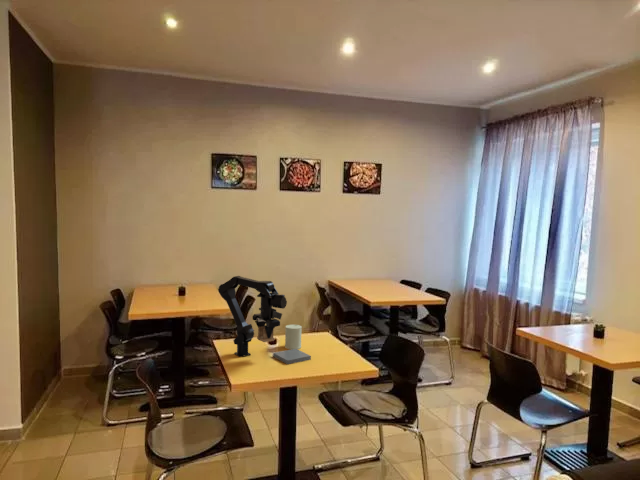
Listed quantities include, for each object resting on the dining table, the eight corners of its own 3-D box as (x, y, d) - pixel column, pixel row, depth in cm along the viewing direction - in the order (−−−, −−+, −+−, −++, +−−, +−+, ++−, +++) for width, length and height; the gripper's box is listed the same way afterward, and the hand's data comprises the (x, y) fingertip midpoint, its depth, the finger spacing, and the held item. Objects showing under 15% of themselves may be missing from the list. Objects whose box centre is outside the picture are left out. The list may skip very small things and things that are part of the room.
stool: (257, 338, 231) (257, 326, 231) (267, 337, 235) (267, 325, 234) (263, 342, 225) (263, 329, 225) (274, 340, 229) (274, 328, 229)
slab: (273, 356, 235) (273, 352, 235) (295, 352, 243) (295, 348, 243) (287, 364, 224) (287, 360, 224) (310, 359, 232) (310, 355, 232)
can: (304, 346, 254) (305, 325, 253) (294, 350, 246) (295, 328, 246) (291, 343, 259) (291, 322, 258) (281, 347, 251) (281, 325, 251)
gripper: (289, 308, 226) (288, 338, 227) (271, 301, 241) (270, 330, 242) (270, 310, 220) (269, 342, 221) (252, 303, 235) (251, 333, 236)
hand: (265, 336), depth 230 cm, fingers closed on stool, 6 cm apart
